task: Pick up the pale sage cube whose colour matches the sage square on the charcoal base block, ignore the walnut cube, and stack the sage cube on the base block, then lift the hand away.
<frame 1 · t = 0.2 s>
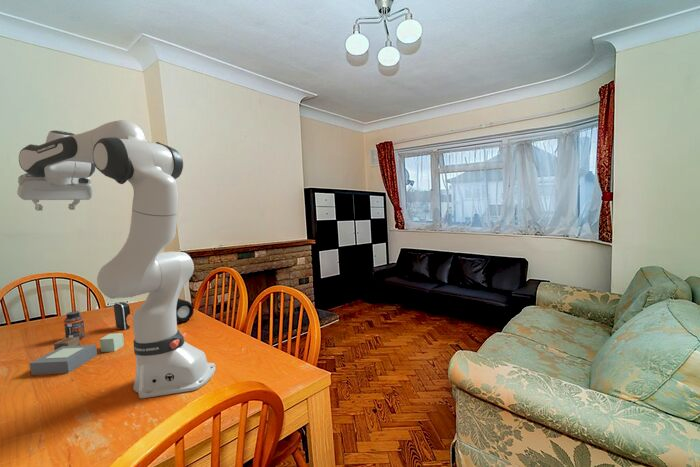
hand: (55, 209, 116), 54 cm above the table, tool tilted 30°, fingers open, 8 cm apart
portable speaker: (172, 318, 150), on the table
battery: (124, 328, 140), on the table
supplement bottle: (76, 339, 129), on the table
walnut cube: (68, 353, 117), on the table
sage cube: (112, 348, 119), on the table
base block: (66, 364, 108), on the table
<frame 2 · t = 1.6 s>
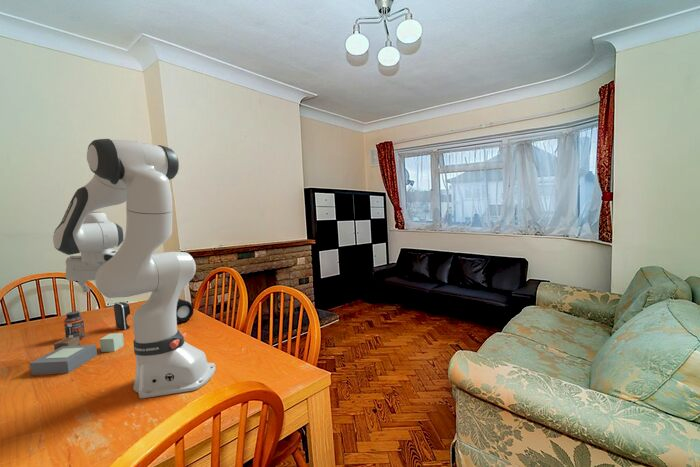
hand: (100, 291, 118), 22 cm above the table, tool pointing down, fingers open, 8 cm apart
nothing on the table moved.
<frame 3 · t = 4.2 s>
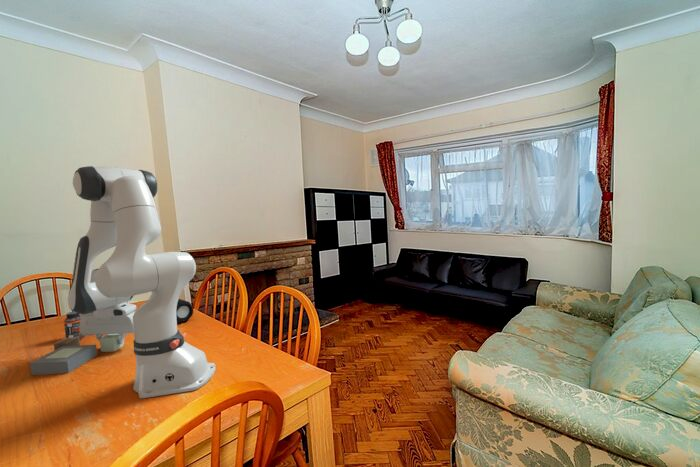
hand: (112, 344, 119), 2 cm above the table, tool pointing down, fingers closed on sage cube, 5 cm apart
sage cube: (112, 348, 119), on the table, touching gripper
everything else where it was.
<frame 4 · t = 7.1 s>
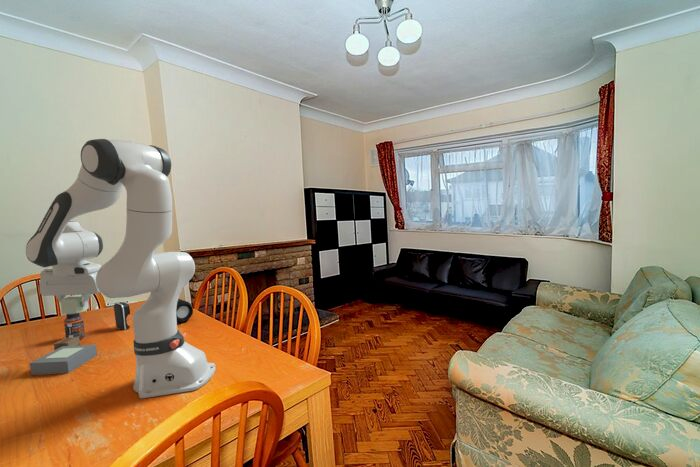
hand: (75, 306, 110), 19 cm above the table, tool pointing down, fingers closed on sage cube, 5 cm apart
sage cube: (75, 311, 110), point 18 cm above the table, touching gripper
everything else where it was.
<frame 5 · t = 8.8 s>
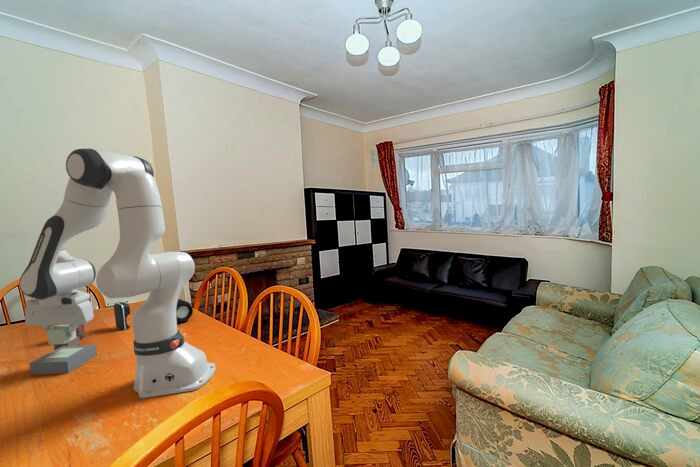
hand: (62, 336, 107), 10 cm above the table, tool pointing down, fingers closed on sage cube, 5 cm apart
sage cube: (63, 341, 107), point 8 cm above the table, touching gripper
everything else where it was.
when the fingers open (7 cm above the table, at t = 9.9 s): sage cube drops 1 cm, resting on base block.
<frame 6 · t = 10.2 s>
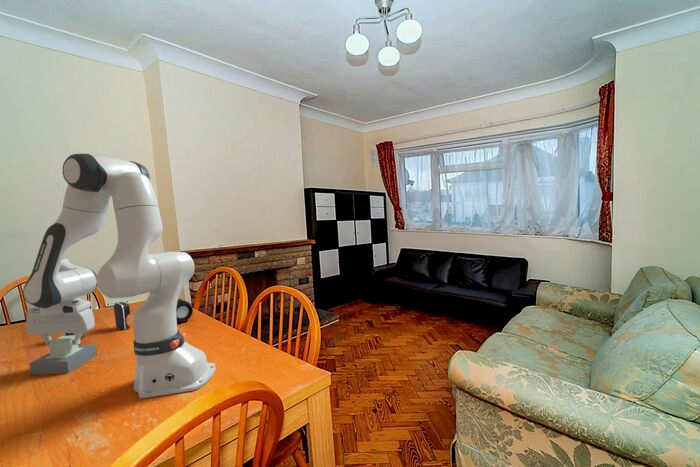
hand: (63, 344, 107), 7 cm above the table, tool pointing down, fingers open, 7 cm apart
sage cube: (64, 352, 107), point 4 cm above the table, touching base block
everything else where it was.
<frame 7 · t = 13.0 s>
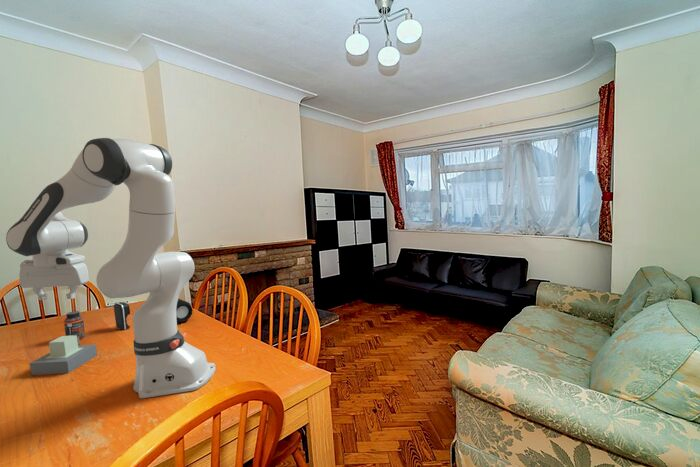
hand: (57, 299, 106), 23 cm above the table, tool pointing down, fingers open, 8 cm apart
nothing on the table moved.
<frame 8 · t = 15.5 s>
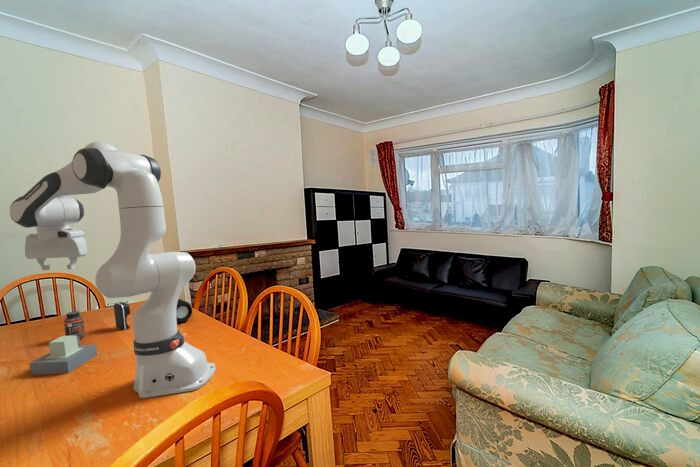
hand: (58, 269, 117), 31 cm above the table, tool pointing down, fingers open, 8 cm apart
nothing on the table moved.
at the end: sage cube 0.1 cm off-centre on the base block, point 4.2 cm above the base block's base; sage cube tilted 0°; the gripper is holding nothing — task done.
